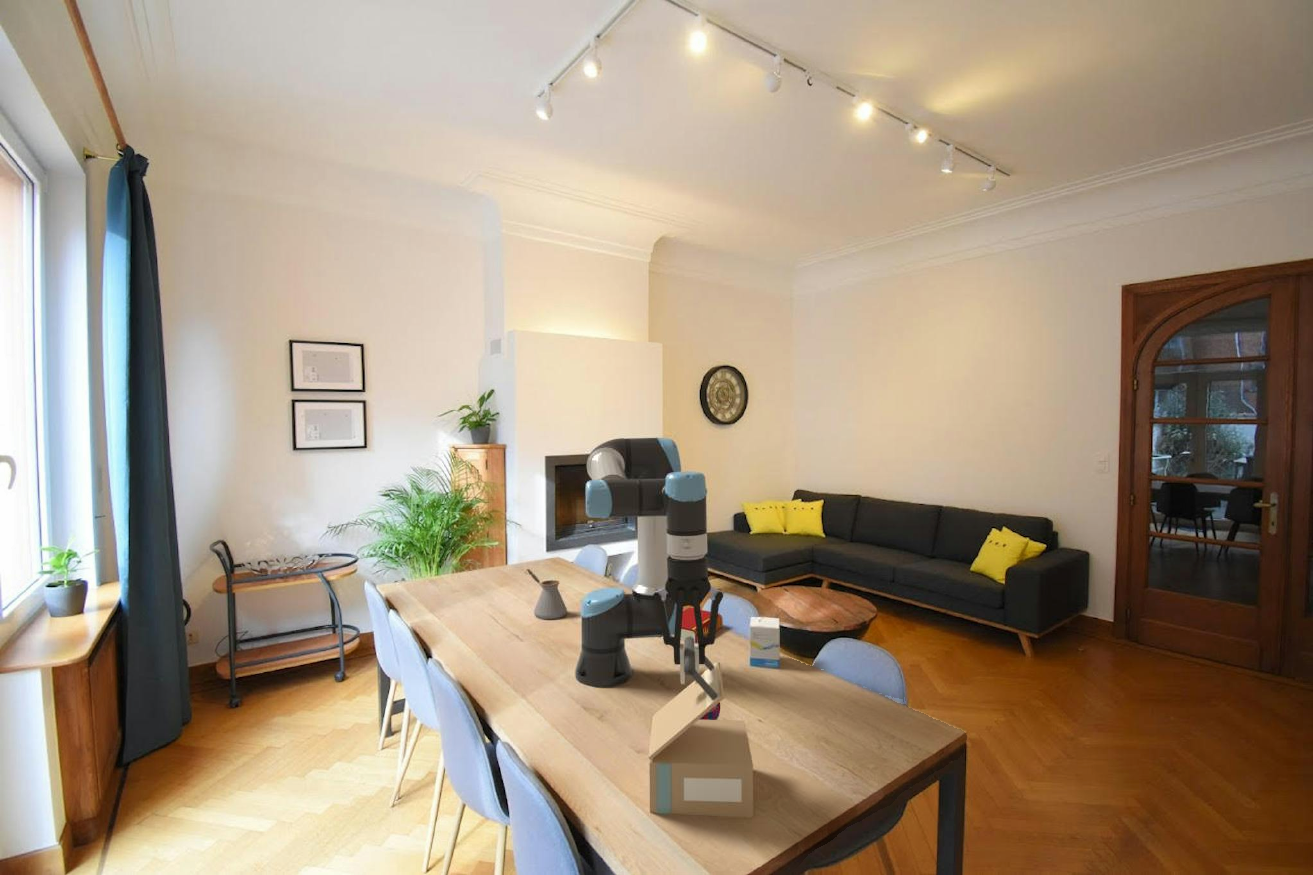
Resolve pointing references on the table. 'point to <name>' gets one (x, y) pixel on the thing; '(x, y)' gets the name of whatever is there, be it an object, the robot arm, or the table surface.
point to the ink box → (764, 642)
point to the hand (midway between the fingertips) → (689, 680)
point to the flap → (687, 702)
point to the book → (690, 624)
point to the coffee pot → (549, 600)
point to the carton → (704, 772)
